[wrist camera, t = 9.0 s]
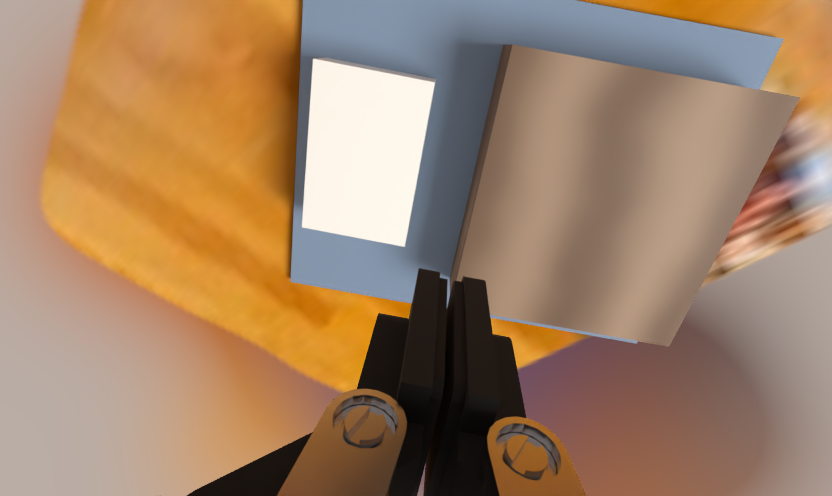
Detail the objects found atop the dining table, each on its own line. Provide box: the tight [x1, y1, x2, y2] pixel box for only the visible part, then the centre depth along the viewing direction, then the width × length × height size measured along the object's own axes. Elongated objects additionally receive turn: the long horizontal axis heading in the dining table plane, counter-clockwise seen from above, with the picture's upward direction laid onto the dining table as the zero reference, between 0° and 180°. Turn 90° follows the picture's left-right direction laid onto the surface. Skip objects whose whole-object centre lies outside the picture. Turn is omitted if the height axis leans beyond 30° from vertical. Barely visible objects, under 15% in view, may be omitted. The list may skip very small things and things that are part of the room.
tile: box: [302, 57, 436, 247], centre depth 24 cm, size 6×9×2 cm, turn 170°
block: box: [450, 44, 800, 347], centre depth 24 cm, size 13×14×4 cm
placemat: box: [291, 0, 784, 343], centre depth 25 cm, size 24×19×1 cm
